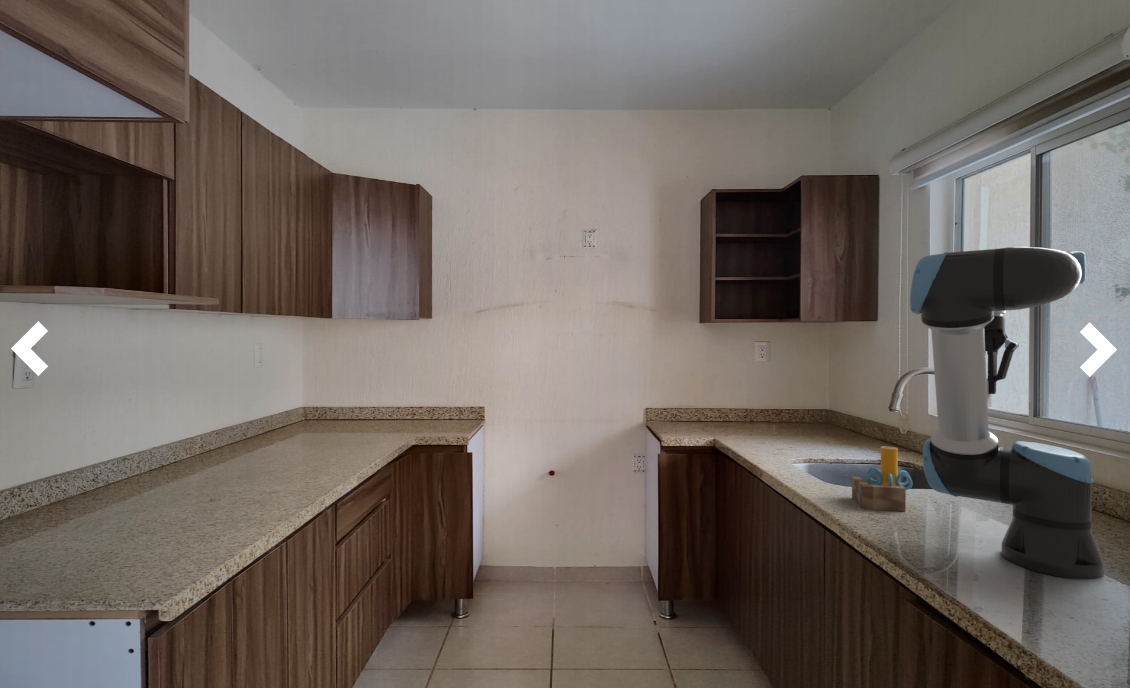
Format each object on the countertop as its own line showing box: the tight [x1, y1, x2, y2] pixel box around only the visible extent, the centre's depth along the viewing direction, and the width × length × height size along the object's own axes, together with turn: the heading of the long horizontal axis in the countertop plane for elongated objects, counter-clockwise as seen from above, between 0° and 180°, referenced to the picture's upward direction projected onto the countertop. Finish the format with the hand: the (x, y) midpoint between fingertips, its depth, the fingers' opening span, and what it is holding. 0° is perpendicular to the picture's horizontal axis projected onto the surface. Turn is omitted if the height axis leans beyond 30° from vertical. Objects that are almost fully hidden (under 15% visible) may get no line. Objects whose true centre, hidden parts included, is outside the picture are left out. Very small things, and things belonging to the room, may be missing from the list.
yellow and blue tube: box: [866, 445, 914, 491], centre depth 147 cm, size 12×10×15 cm
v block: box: [851, 476, 907, 513], centre depth 143 cm, size 9×14×6 cm, turn 32°
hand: (985, 406), depth 139 cm, fingers closed
